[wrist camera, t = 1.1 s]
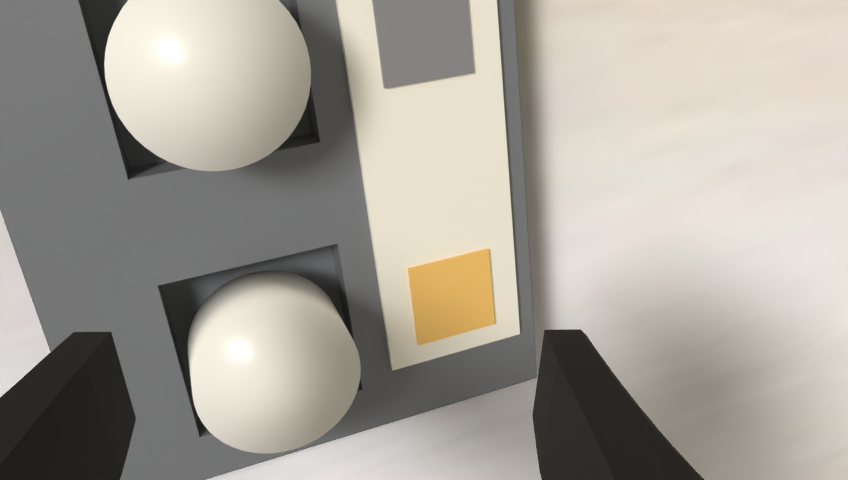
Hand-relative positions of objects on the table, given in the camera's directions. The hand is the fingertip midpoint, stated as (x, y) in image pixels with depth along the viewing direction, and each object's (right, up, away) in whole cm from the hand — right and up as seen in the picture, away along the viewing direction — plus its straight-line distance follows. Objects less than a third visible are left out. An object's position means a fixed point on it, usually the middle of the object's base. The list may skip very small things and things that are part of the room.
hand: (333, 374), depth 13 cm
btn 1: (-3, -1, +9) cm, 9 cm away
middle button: (-4, +7, +6) cm, 10 cm away
